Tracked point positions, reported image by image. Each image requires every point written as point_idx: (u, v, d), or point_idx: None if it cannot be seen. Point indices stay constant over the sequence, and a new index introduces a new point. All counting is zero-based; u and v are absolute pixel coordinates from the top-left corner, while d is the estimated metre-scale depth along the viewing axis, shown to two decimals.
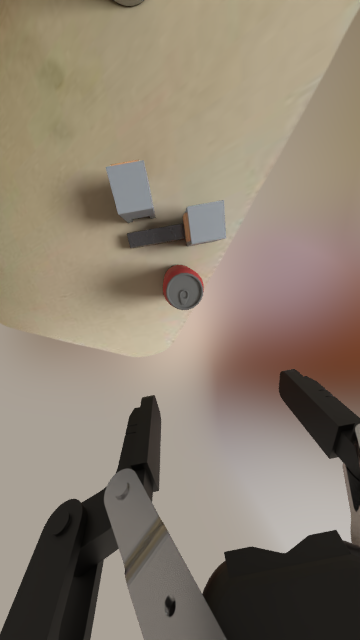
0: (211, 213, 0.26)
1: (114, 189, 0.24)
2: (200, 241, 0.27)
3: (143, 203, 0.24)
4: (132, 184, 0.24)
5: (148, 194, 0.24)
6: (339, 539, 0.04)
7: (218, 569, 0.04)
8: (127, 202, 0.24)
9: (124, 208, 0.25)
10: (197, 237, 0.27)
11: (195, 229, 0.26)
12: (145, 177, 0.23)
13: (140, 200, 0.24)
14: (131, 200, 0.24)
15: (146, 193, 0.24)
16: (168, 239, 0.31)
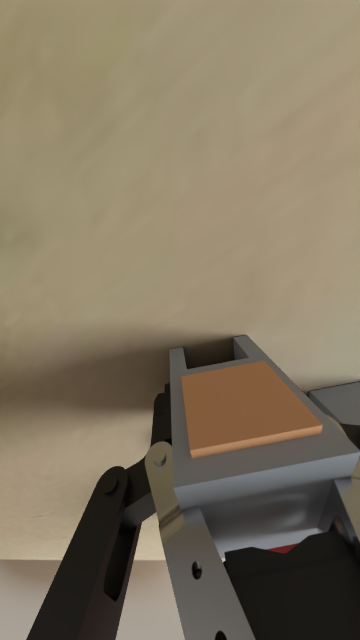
0: None
1: None
2: None
3: (299, 535, 0.06)
4: (276, 509, 0.05)
5: None
6: (339, 539, 0.04)
7: None
8: (242, 541, 0.06)
9: (225, 551, 0.06)
10: None
11: None
12: None
13: (292, 532, 0.06)
14: (260, 536, 0.06)
15: None
16: None
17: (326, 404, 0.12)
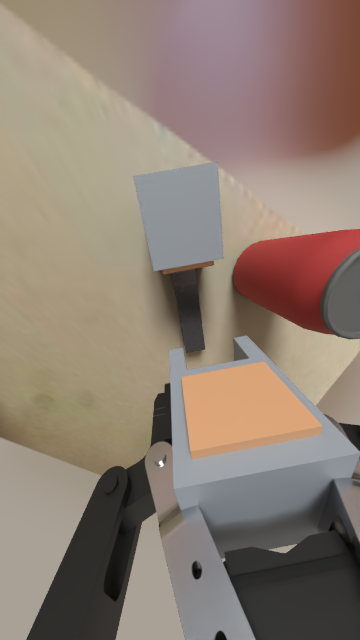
0: (163, 211, 0.11)
1: None
2: (219, 237, 0.12)
3: (299, 535, 0.06)
4: (276, 510, 0.05)
5: None
6: (339, 539, 0.04)
7: None
8: (242, 541, 0.06)
9: None
10: (211, 245, 0.12)
11: (195, 251, 0.12)
12: None
13: (292, 532, 0.06)
14: (259, 536, 0.06)
15: None
16: (195, 293, 0.18)
17: None
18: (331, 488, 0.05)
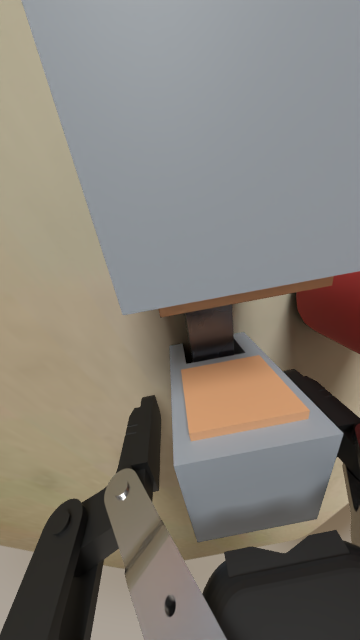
0: None
1: (197, 506, 0.06)
2: None
3: (290, 515, 0.07)
4: (268, 489, 0.06)
5: (317, 499, 0.06)
6: (339, 539, 0.04)
7: (218, 569, 0.04)
8: (237, 521, 0.07)
9: (222, 531, 0.07)
10: None
11: (296, 233, 0.03)
12: (327, 470, 0.06)
13: (283, 512, 0.07)
14: (253, 516, 0.07)
15: (312, 498, 0.06)
16: (228, 330, 0.09)
17: None
18: None
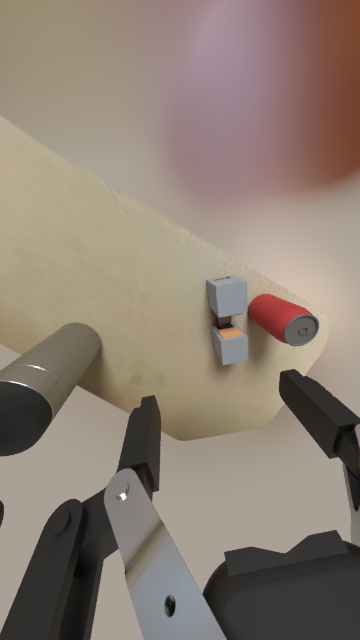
0: (225, 296, 0.28)
1: (223, 352, 0.32)
2: (246, 304, 0.29)
3: (242, 358, 0.33)
4: (236, 349, 0.32)
5: (247, 353, 0.33)
6: (339, 539, 0.04)
7: (218, 569, 0.04)
8: (231, 358, 0.33)
9: (228, 362, 0.33)
10: (242, 307, 0.29)
11: (236, 309, 0.29)
12: (247, 345, 0.32)
13: (240, 357, 0.33)
14: (234, 357, 0.33)
15: (245, 353, 0.33)
16: (229, 321, 0.35)
17: (210, 306, 0.35)
18: None
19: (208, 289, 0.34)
